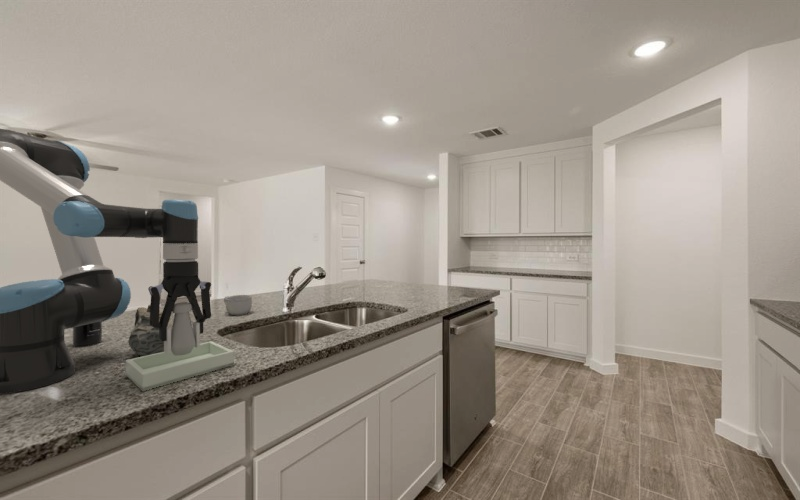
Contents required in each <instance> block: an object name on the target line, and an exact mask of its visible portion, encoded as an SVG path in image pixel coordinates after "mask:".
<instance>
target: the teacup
mask: <svg viewBox="0 0 800 500" xmlns="http://www.w3.org/2000/svg"><path fill="white" fill-rule="evenodd" d="M252 297H253V296H252V295H250V294H235V295H231V296H229V295H227V296H225V297H224V298H223V303H224V305H225V308H226V309H225V310H226V312H227V313H228V314H230V315H231V316H243V315H246V314H248V313H249V312H250V311H251V309H252V302H253V301H252Z"/></svg>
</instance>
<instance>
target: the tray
mask: <svg viewBox="0 0 800 500" xmlns="http://www.w3.org/2000/svg"><path fill="white" fill-rule="evenodd" d="M233 366H235V351H234V350H233V349H230V348H228V347H225V346H223V345H220V344H218V343H217V342H214V341H212V340H211V341H206V342H202V343H201V342H200V347H199V348H196V347H193V349H192V351H191V353H189V354H185V355H176V356H175V355H174V354H173V353H172V351H171V354H166V353H164V352H160V353H156V354H151V355H147V356H140V357H139V356H138V357H134V358H129V359H126V360H125V377H127V378H128V379H129V380H130V381H132V383H133V384H135V386H137V388H138V389H140V391H142V392H146V390H147V391H150V390H153V389H152V388H154V389H157V388H160V387H159V386H161V387H164V386H167V385H166V384H168V385H171V384H174V383H173V382H175V383H177V381H178V382H182V381H184V379H185V380H189V379H191V377H192V378H195V377H199V376H201V375H206V374H209V373H212V371H213V372H216V371H219V370H222V368H223V369H225V368H226V369H227V368H229V367H230V368H231V367H233ZM215 370H216V371H215ZM205 373H206V374H205ZM198 375H199V376H198ZM194 376H195V377H194ZM170 383H171V384H170ZM163 385H164V386H163ZM156 387H157V388H156ZM149 389H150V390H149Z"/></svg>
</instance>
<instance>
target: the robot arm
mask: <svg viewBox="0 0 800 500" xmlns="http://www.w3.org/2000/svg"><path fill="white" fill-rule="evenodd" d="M90 170H91V169H90V164H89V160H88V158H87V157H86V155H85V154H84V152H82V150H80V149H79V148H78V147H75V146H74V145H70V144H67V143H64V142H63V141H60V140H51V139H46V138H43V137H38V136H34V135H31V134H28V133H27V134H26V133H22V132H19V131H15V130H11V129H6V128H0V182H2V183H3V184H5V185H7V186H8V187H10V188H11V189H12V190H15V191H16V192H17V193H19V194H20V195H22V196H24V197H25V198H26V199H27V200H30V201H31V202H33V203H34V204H36V205H37V206H38V207H40V209H41V212H42V215H43V218H44V221H45V224H46V228H47V231H48V234H49V237H50V240H51V243H52V246H53V249H54V252H55V253H54V254H55V256H56V259H57V262H58V265H59V268H60V273H61V275H60V276H59V277H58V278H57V279H56V278H55V279H54V278H53V279H52V278H51V279H50V278H49V279H41V280H40V279H39V280H30V281H23V282H17V283H13V284H8V285H4V286H2V287H0V395H4V394H5V395H6V394H13V393H19V392H23V391H29V390H33V389H38V388H42V387H45V386H49V385H52V384H56V383H58V382H60V381H63V380H65V379H68V378H69V377H71V376H73V375H74V374H75V372H76V369H75V368H76V363H75V361H74V359H73V357H72V355H71V352H70V351H69V349H68V347H67V345H66V342H65V341H66V340H65V330H68V329H73V327H78V326H82V325H87V324H91V323H96V322H102V323H104V322H106V321H108V320H111V319H115V318H118V317H120V316H122V315H123V314H124V313H125V311H126V310H127V309H128V306H129V305H130V302H131V299H132V297H131V296H132V293H131V287H130V285H129V283H128V282H127V281H125V280H124V279H122V278H118V277H115V274H114V271H113V269H112V268H109V267H107V266H105V265H104V263H103V259H102V257H101V254H100V253H101V252H100V251H99V248H98V245H97V241H96V239H95V238H104V237H105V238H135V239H141V238H142V239H146V238H162V259H163V260H165V261H164V262H163V263H162V264H163V265H162V266H163V267H162V269H163V270H162V271H163V272H162V273H163V274H162V275H163V277H162V278H163V279H162V280H161V283H160V284H158V285H154V286H153V285H152V286H149V287H148V292H149V295H150V304H151V306H150V326H152V327H154V328H159V339H160V341H162V342H163V341H164V353H166V354H171V328H170V327H168V323H169V321H171V316H172V313H173V312H172V310H173V307H174V304H176V302H177V301H178V298H181V297H182V298H183V297H186V299H187V301H188V303H190V304H191V305H192V310H191V312H192V313H193V317H194V319H195V320H194V321H191V324H192V329H193V333H194V338H195V346H194V347H196V348H199V347H200V344H201V337H200V336H201V334H204V323H205V322H206V320H208V319H211V317H212V309H211V296H210V289H211V286H212V283H211V282H209V281H201V279H200V277H199V262H198V261H197V259H199V244H198V243H199V241H198V238H199V237H198V232H199V230H198V228H199V226H198V223H199V215H198V207H197V203H195V202H194V201H192V200H187V199H174V198H173V199H172V198H171V199H170V198H169V199H164V200H163V201H162V203H161V208H143V207H134V206H123V205H122V206H121V205H113V204H104V203H102V202H100V201H98V200H96V199H95V198H93V197H92V196H90V195H88V194H86V193H85V192H83V191H82V190H81V189H82V188H83V187H84V185H85V183H86V182H87V180H88V178H89V176H90V174H89V172H90ZM198 287H199V290H200V296H201V297H200V298H201V307H200V305H199V301H198V299H197V294H196V290H197V288H198ZM163 290H165V292H166V293H167V295H166V301H165V303H164V306H163V308H162V309H163V310H162V311H161V312H162V315H161V318H160V321H159V311H160V306H161V305H160V303H161V295H160V294H162V291H163Z"/></svg>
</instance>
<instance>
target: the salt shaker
mask: <svg viewBox="0 0 800 500" xmlns="http://www.w3.org/2000/svg"><path fill="white" fill-rule="evenodd" d="M190 312H192V305H191V304H190V303H189V301H188V302H185V301H184V302H183V301H182V302H177V303H176V302H175V304H174V307H173V310H172V313H173V314H174V315H173V321H172V322H173V326H172V331H171V351H172V353H173V354H174V355H175V356H176V355H185V354H189V353H191V351H192V349H193V347H194V346H195V338H194V333H193V327H192V320H191V315H190Z"/></svg>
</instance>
